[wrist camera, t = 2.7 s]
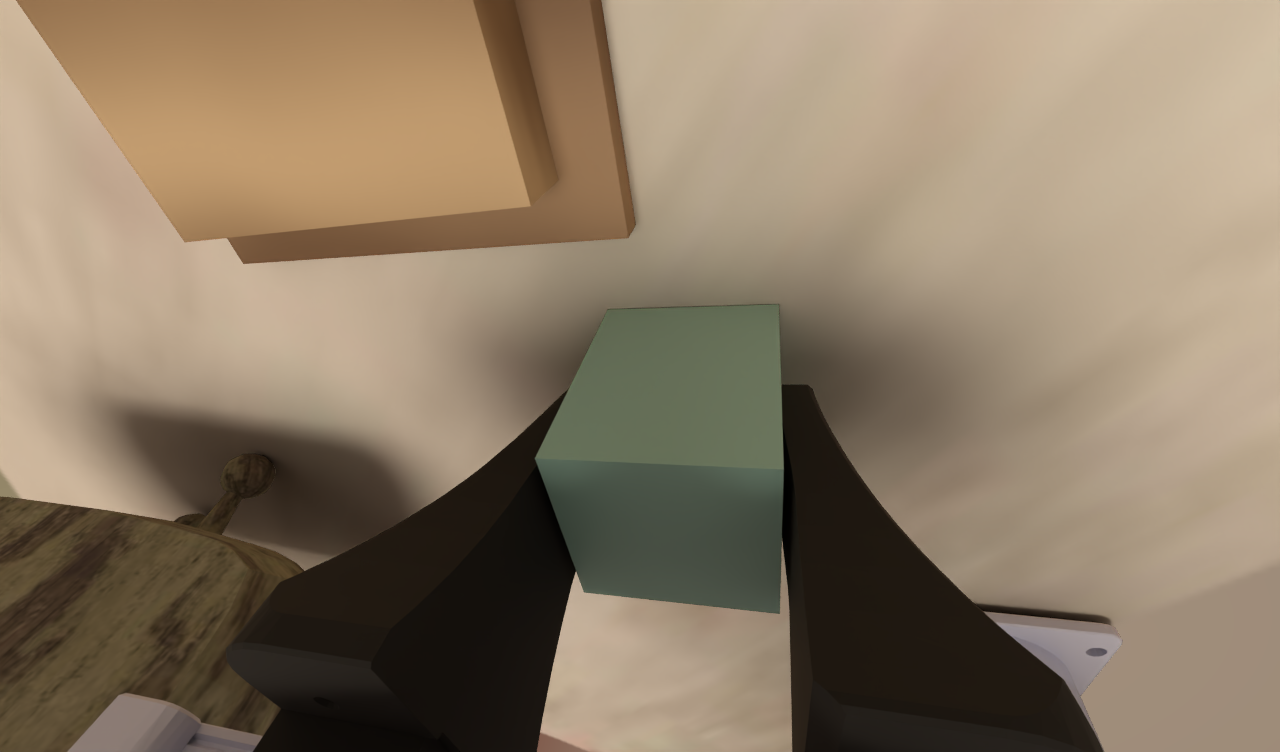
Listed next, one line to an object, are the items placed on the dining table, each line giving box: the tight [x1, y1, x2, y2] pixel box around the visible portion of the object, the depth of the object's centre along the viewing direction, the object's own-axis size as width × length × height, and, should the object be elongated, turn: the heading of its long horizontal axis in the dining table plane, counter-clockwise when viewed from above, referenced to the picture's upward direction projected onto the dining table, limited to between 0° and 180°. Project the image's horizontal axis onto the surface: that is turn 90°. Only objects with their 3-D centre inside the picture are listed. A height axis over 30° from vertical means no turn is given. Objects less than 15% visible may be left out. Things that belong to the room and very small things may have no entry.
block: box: [535, 304, 784, 614], centre depth 11 cm, size 4×4×5 cm
